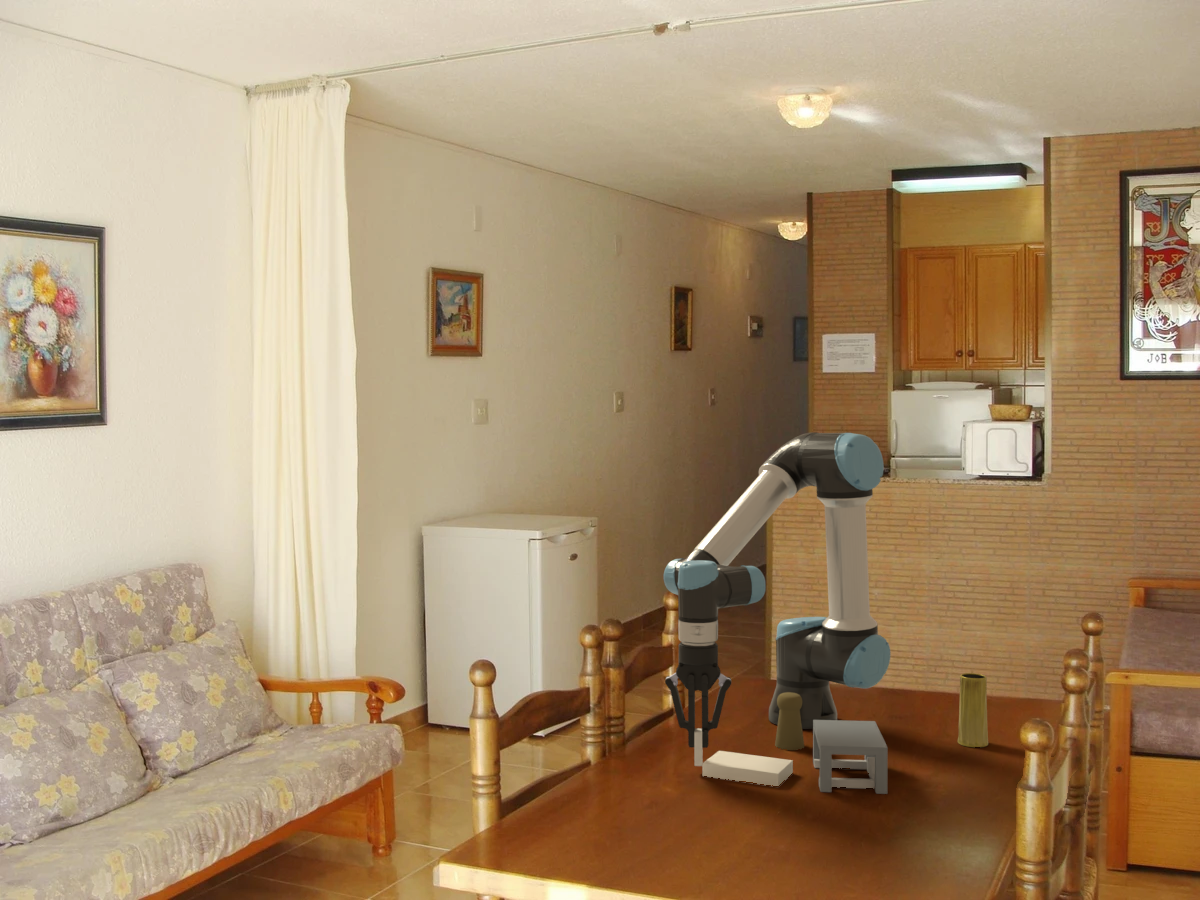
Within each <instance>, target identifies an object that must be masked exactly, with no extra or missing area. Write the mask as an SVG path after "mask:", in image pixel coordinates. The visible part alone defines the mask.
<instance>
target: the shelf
mask: <svg viewBox="0 0 1200 900" xmlns="http://www.w3.org/2000/svg"><path fill="white" fill-rule="evenodd" d="M812 734H813V735H812V765H813V767H814V769H819V776H818V787H819V791H820V793H832V791H833V790H832V787H837V788H838V789H841V788H840V787H846V788H845V789H866V788H873V789H874V792H875V794H878V795H879V794H881V795H885V794H886V795H888V765H889V764H888V758H889V757H888V754H889V753H888V752H889V751H888V749H889V748H888V745H887V744H886V741H885V739H884V737H883V735H882V733H881V731H880V728H879V727H878V725H877V722H876V721H875V720H839V719H837V720H813V729H812ZM832 755H844V756H845V755H846V756H848V755H850V756H852V755H853V756H864V759H833V758H832ZM832 768H839V770H843V769H842V768H850V769H849V770H866V771H867V774H868V773H869V774H868V776H869V778H852V777H851V778H850V777H849V778H848V777H832V772H833V771H832V770H833V769H832ZM840 768H841V769H840ZM837 788H836V789H837Z"/></svg>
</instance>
